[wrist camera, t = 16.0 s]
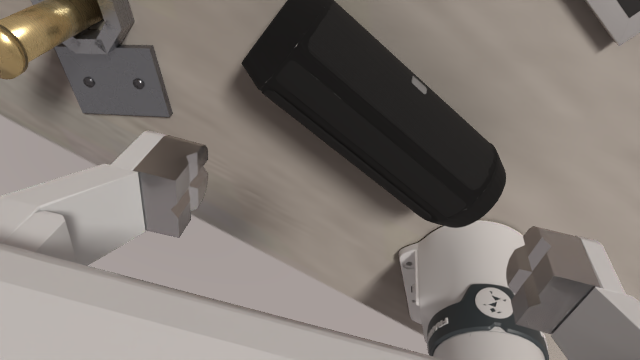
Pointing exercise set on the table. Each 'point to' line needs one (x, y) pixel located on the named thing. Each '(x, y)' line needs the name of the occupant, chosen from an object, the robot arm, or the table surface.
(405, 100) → the portable speaker
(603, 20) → the picture frame
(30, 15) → the pin
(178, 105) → the table surface
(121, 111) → the hinge body
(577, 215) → the table surface
